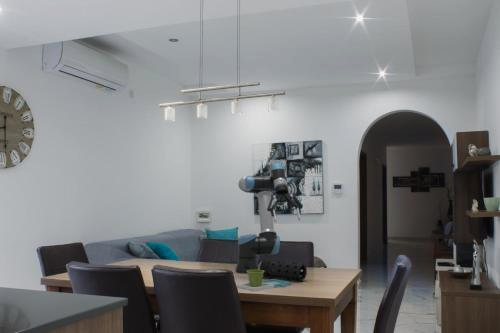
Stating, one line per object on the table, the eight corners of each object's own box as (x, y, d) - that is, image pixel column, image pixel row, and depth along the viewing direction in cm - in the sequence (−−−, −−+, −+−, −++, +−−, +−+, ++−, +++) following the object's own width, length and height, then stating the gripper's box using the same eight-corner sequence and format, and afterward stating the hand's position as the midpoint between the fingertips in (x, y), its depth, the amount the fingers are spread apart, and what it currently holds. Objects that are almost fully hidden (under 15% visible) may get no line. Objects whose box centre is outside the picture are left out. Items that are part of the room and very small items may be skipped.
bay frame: (234, 286, 267) (234, 284, 267) (270, 281, 285) (270, 278, 285) (257, 291, 254) (257, 288, 254) (293, 285, 271) (293, 282, 271)
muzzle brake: (299, 283, 279) (298, 264, 279) (257, 278, 295) (256, 260, 295) (307, 280, 286) (307, 262, 287) (265, 276, 302) (265, 259, 303)
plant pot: (268, 287, 265) (268, 271, 265) (254, 289, 259) (254, 272, 259) (256, 285, 272) (256, 269, 272) (243, 287, 266) (242, 270, 266)
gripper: (260, 185, 285) (266, 218, 273) (303, 182, 288) (310, 215, 277) (259, 192, 291) (264, 225, 279) (301, 189, 295) (308, 221, 283)
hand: (287, 220), depth 278 cm, fingers open, 13 cm apart
